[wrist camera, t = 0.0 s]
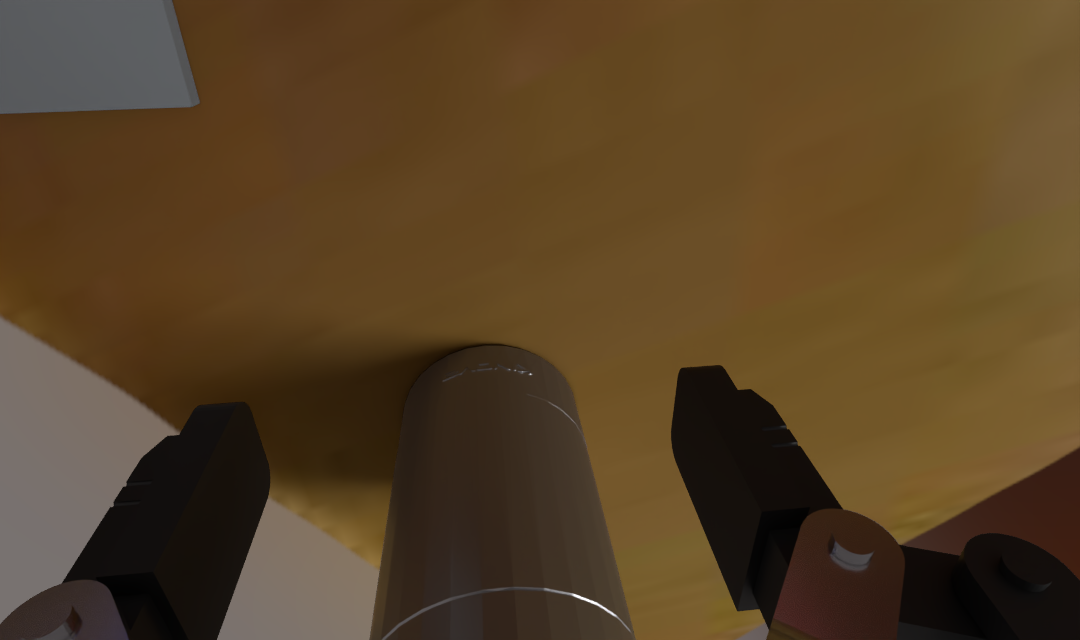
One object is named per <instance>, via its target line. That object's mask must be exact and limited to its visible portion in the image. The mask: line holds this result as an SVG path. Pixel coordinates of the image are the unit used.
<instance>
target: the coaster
mask: <svg viewBox="0 0 1080 640" xmlns="http://www.w3.org/2000/svg"><path fill="white" fill-rule="evenodd" d="M199 103H200V101H199V98H198V94H197V90H196V87H195V83H194V79H193V76H192V72H191V69H190V65H189V61H188V58H187V54H186V50H185V47H184V43H183V39H182V36H181V32H180V28H179V25H178V21H177V17H176V14H175V10H174V6H173V3H172V0H0V114H7V113H34V112H62V111H90V110H118V109H146V108H174V107H193V106H195V105H197V104H199Z"/></svg>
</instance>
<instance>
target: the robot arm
mask: <svg viewBox="0 0 1080 640" xmlns="http://www.w3.org/2000/svg"><path fill="white" fill-rule="evenodd" d="M671 441H672V449H673V454H674V458H675V461H676V463H677V466H678V468H679V471H680V473H681V476H682V478H683V481H684V483H685V485H686V488H687V490H688V493H689V495H690V498H691V500H692V502H693V505H694V507H695V510H696V512H697V515H698V517H699V519H700V522H701V524H702V527H703V529H704V532H705V534H706V536H707V539H708V541H709V544H710V546H711V549H712V551H713V553H714V556H715V558H716V561H717V563H718V566H719V568H720V570H721V573H722V575H723V578H724V580H725V583H726V585H727V587H728V590H729V592H730V595H731V597H732V600H733V602H734V605H735V607H736V609H737V611H745V610H754V609H760V611H761V613H762V615H763V618H764V620H765V622H766V624H767V627H768V629H769V633H768V636H767V639H766V640H1080V580H1079V579H1078V578H1077V577H1076V576H1075V575H1074V574H1073V573H1072V572H1071V571H1070V570H1069V569H1068V568H1067V567H1066V566H1065V565H1064V564H1063V563H1062V562H1060V560H1058V559H1057V558H1056V557H1054V556H1053V555H1051V554H1050V553H1048V552H1047V551H1045V550H1044V549H1042V548H1040V547H1038V546H1036V545H1034V544H1032V543H1030V542H1028V541H1025V540H1022V539H1020V538H1017V537H1013V536H1009V535H1004V534H998V533H987V534H981V535H978V536H975V537H973V538H972V539H970V540H969V541H968V542H967V544H966V545H965V548H964V549H963V551H962V553H961V555H960V556H958V555H953V554H947V553H941V552H936V551H930V550H924V549H918V548H913V547H907V546H903V545H899V544H898V543H897V541H896V540H895V539H894V537H893V536H892V535H891V534H890V533H889V532H888V531H887V530H885V529H884V528H883V527H882V526H881V525H879V524H878V523H876V522H875V521H873V520H871V519H869V518H868V517H865V516H863V515H861V514H858V513H855V512H852V511H848V510H843V508H842V507H841V506H840V504H839V503H838V501H837V500H836V498H835V497H834V495H833V494H832V492H831V491H830V489H829V488H828V486H827V485H826V483H825V482H824V480H823V479H822V477H821V476H820V474H819V473H818V471H817V470H816V469H815V467H814V466H813V464H812V463H811V461H810V460H809V458H808V457H807V455H806V454H805V452H804V451H803V449H802V448H801V446H798V444H797V440H796V439H795V437H794V436H793V434H792V433H791V432H790V430H789V429H787V428H786V424H785V423H784V421H783V420H782V418H781V417H780V415H779V414H778V412H777V411H776V409H775V408H774V406H773V405H772V404H770V403H769V402H768V401H766V400H765V399H763V398H762V397H761V396H759V395H758V394H757V393H755V392H754V391H753V390H751V389H746V390H737V388H736V387H735V385H734V383H733V382H732V380H731V378H730V377H729V375H728V374H727V372H726V370H725V369H724V368H723V367H722V366H721V365H714V366H701V367H687V368H681V369H680V371H679V374H678V379H677V387H676V395H675V404H674V412H673V420H672V428H671ZM269 489H270V469H269V464H268V461H267V458H266V455H265V452H264V449H263V446H262V443H261V440H260V437H259V434H258V431H257V428H256V425H255V422H254V419H253V415H252V412H251V410H250V408H249V406H248V405H247V404H246V403H245V402H234V403H220V404H207V405H199V406H197V407H196V408H195V409H194V411H193V413H192V414H191V416H190V418H189V419H188V421H187V423H186V424H185V426H184V428H183V429H182V431H181V433H180V435H174V436H167V437H166V438H164V439H163V440H162V441H161V442H160V443H159V444H157V445H156V446H155V447H154V448H153V449H151V450H150V451H149V452H148V453H147V454H146V455H144V456H143V457H142V458H141V460H140V461H139V463H138V464H137V466H136V468H135V469H134V471H133V472H132V474H131V475H130V477H129V479H128V480H127V486H126V487H123V488H122V490H121V491H120V493H119V494H118V496H117V497H116V499H115V501H114V506H113V507H110V508H109V510H108V512H107V513H106V515H105V517H104V518H103V519H102V521H101V523H100V524H99V526H98V527H97V529H96V530H95V532H94V534H93V535H92V537H91V538H90V540H89V541H88V543H87V545H86V546H85V548H84V549H83V551H82V553H81V554H80V556H79V557H78V559H77V560H76V562H75V564H74V565H73V567H72V568H71V570H70V571H69V573H68V574H67V576H66V578H65V579H64V581H63V582H62V584H59V585H57V586H54V587H52V588H49V589H47V590H45V591H43V592H41V593H39V594H37V595H36V596H34V597H32V598H30V599H29V600H28V601H26V602H25V603H23V604H22V605H20V606H19V607H18V608H17V609H16V610H14V611H13V612H12V613H11V614H10V615H9V616H8V617H7V618H6V619H5V620H4V621H3V622H2V623H1V624H0V640H217V638H218V635H219V632H220V629H221V626H222V624H223V621H224V618H225V615H226V612H227V610H228V607H229V604H230V602H231V599H232V596H233V593H234V590H235V588H236V585H237V582H238V579H239V577H240V574H241V571H242V568H243V565H244V563H245V560H246V557H247V554H248V551H249V549H250V546H251V543H252V540H253V538H254V535H255V532H256V529H257V527H258V524H259V521H260V518H261V515H262V513H263V510H264V507H265V504H266V501H267V499H268V495H269ZM369 640H636V639H635V635H634V631H633V627H632V623H631V619H630V615H629V611H628V607H627V603H626V600H625V596H624V592H623V588H622V584H621V580H620V576H619V572H618V568H617V564H616V560H615V556H614V552H613V549H612V545H611V541H610V537H609V533H608V529H607V525H606V521H605V517H604V513H603V509H602V505H601V501H600V498H599V494H598V490H597V486H596V482H595V478H594V474H593V470H592V466H591V462H590V458H589V454H588V451H587V445H586V442H585V438H584V434H583V430H582V426H581V423H580V419H579V415H578V411H577V407H576V404H575V400H574V396H573V392H572V390H571V388H570V386H569V384H568V383H567V381H566V379H565V378H564V376H563V375H562V374H561V373H560V372H559V371H558V370H557V369H556V368H555V367H554V366H553V365H552V364H550V363H549V362H547V361H546V360H544V359H543V358H541V357H540V356H537V355H535V354H533V353H530V352H528V351H525V350H523V349H518V348H513V347H508V346H487V345H485V346H479V347H473V348H467V349H464V350H461V351H458V352H455V353H453V354H450V355H447V356H446V357H444V358H442V359H441V360H439V361H437V362H436V363H434V364H432V365H431V366H430V367H429V368H428V369H427V370H426V371H425V372H424V373H422V374H421V375H420V376H419V378H418V379H417V381H416V382H415V383H414V385H413V386H412V388H411V389H410V391H409V394H408V397H407V399H406V402H405V405H404V412H403V419H402V425H401V432H400V439H399V446H398V452H397V457H396V463H395V470H394V476H393V483H392V490H391V497H390V504H389V510H388V517H387V524H386V531H385V537H384V544H383V551H382V558H381V565H380V571H379V578H378V585H377V592H376V598H375V605H374V613H373V619H372V626H371V632H370V639H369Z"/></svg>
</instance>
